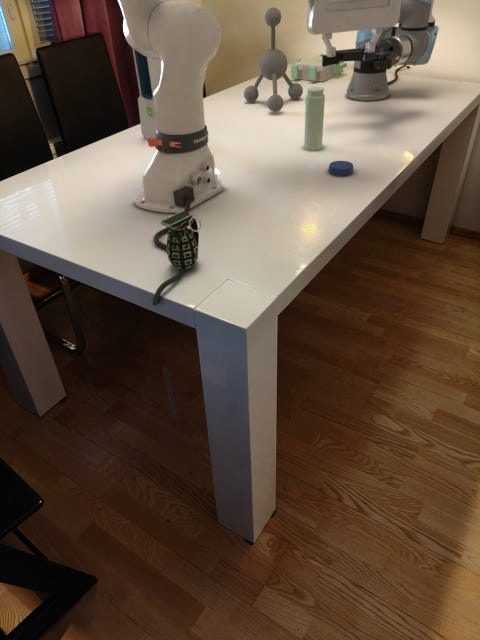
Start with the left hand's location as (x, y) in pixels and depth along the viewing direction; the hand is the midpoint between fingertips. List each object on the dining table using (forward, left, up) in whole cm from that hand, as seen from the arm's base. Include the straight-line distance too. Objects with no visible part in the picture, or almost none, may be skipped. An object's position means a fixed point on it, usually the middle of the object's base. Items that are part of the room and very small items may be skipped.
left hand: (350, 54), depth 108 cm
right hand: (+24, +9, -7) cm, 26 cm away
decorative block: (+103, +41, -27) cm, 114 cm away
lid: (0, 0, -25) cm, 25 cm away
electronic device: (+9, +60, -27) cm, 66 cm away
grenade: (-54, +14, -27) cm, 62 cm away
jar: (+15, +13, -27) cm, 33 cm away
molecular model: (+56, +40, -27) cm, 74 cm away
